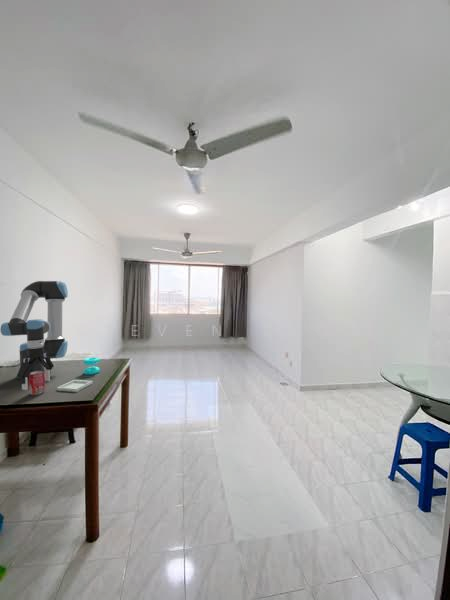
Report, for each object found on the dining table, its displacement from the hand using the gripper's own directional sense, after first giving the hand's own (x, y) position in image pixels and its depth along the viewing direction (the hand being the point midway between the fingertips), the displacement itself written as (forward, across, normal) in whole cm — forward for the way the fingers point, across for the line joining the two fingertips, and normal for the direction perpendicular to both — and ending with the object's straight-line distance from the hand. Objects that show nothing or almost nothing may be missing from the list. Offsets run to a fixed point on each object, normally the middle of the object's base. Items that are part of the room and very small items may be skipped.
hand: (36, 385), depth 140 cm
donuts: (+5, +37, -5) cm, 38 cm away
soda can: (+5, 0, 0) cm, 5 cm away
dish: (+5, +12, -14) cm, 19 cm away
